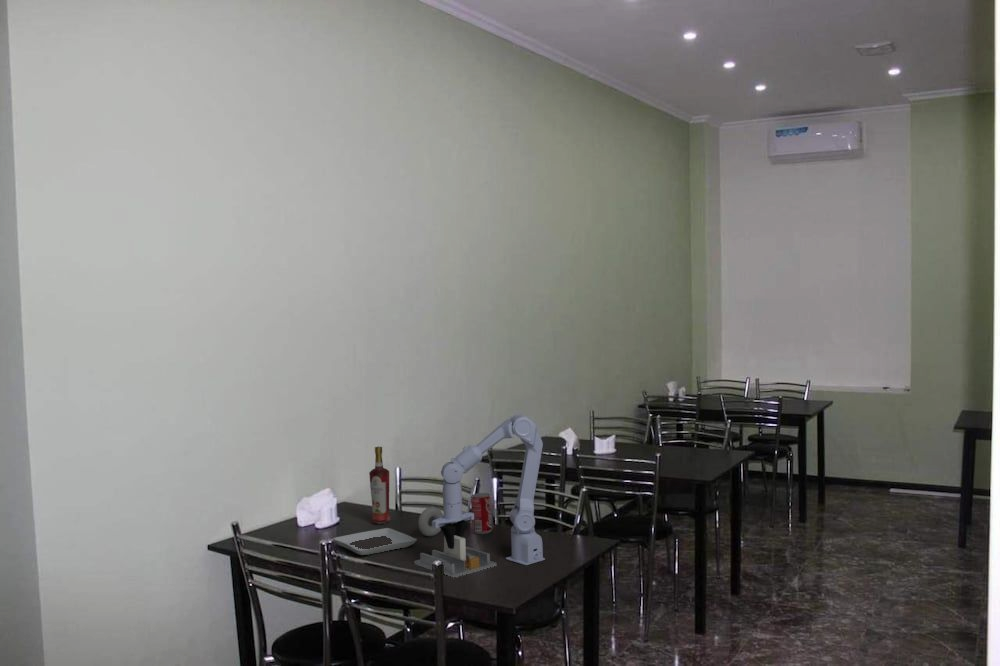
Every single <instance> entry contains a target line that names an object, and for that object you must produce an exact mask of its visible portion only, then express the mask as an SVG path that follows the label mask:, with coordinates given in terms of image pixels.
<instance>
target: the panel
mask: <svg viewBox="0 0 1000 666" xmlns="http://www.w3.org/2000/svg"><path fill="white" fill-rule="evenodd" d="M443 539H444V540H443V544H444V545H443V547H444V550H443V553H446V554H449V555H452V556H456V557H459V558H462V559H465V560H466V547H467V546H466V538H465V537H459V536H456V535H454V549H450V548H448V545H447V542H446V539H445V536H444V535H443Z"/></svg>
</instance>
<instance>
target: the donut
mask: <svg viewBox="0 0 1000 666" xmlns="http://www.w3.org/2000/svg"><path fill="white" fill-rule="evenodd" d="M443 515H444V513H443V512H442V511H441V510H440V509H439V507H438V508H437V507H436V506H429V507H426V508H425V509H424V510H423V511H422V512H421V513H420V515H419V518H418V521H417V522H418V523H417V524H418V525H417V526H418V529H419V531H420V533H421V534H422V535H424V536H425V537H426V536H427V537H434V536H436V535H438V534H439V533H440V532H442V530H441V529H440V527H438V528H433V527H432V525H429V521H430V519H431V518H433V520H436V519H439V518H441V517H443Z"/></svg>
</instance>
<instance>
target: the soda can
mask: <svg viewBox="0 0 1000 666" xmlns="http://www.w3.org/2000/svg"><path fill="white" fill-rule="evenodd" d="M492 505H493V504H492V498H491V496H490V493H486V492H479V493H473V494H472V495H471V498H470V510H471V511H470V512H471V513H474V520H471V529H472V530H471V531H472V532H473V534H474V535H485V534H486V535H487V534H490V533H491V532H492V531H493V510H492V507H493V506H492Z"/></svg>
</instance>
